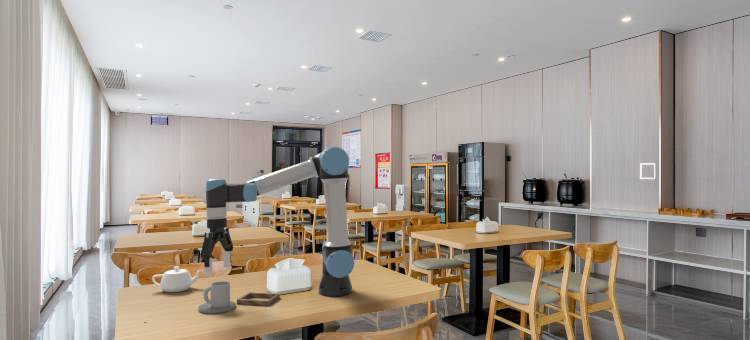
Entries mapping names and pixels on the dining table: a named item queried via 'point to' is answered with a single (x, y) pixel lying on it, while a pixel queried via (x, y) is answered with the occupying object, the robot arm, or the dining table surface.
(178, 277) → the teapot
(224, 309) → the coaster
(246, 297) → the brown wooden tray
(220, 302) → the cup
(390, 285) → the dining table surface
